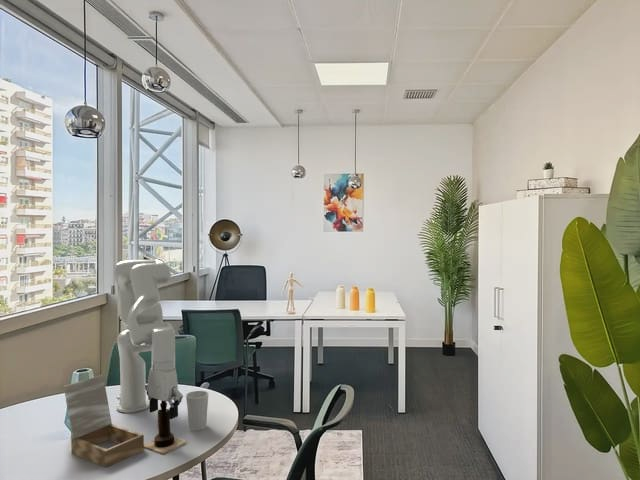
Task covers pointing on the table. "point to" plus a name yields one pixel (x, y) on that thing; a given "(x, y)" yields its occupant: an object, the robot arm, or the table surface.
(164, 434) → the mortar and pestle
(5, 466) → the table surface
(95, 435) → the cold frame
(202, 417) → the cup
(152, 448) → the cork mat
